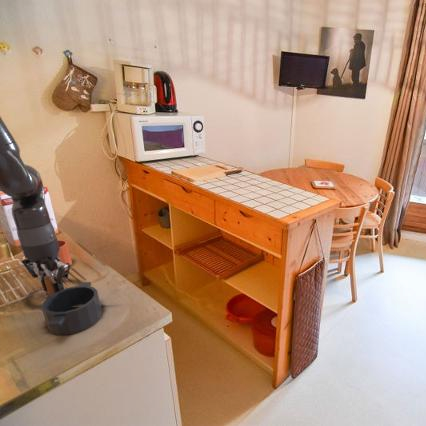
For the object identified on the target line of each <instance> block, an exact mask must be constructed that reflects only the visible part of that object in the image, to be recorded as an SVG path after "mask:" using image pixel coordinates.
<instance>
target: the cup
mask: <svg viewBox="0 0 426 426" xmlns="http://www.w3.org/2000/svg"><path fill="white" fill-rule="evenodd" d="M57 241H58V244H59V248H60V250H59V252H58V257H59V258H60V260H61V262H62V263H64V264H66V263H69V264H70V266H71V265H72V264H73V260H72V256H71V253H70V248H69V245H68V241H66V240H63V239H57Z"/></svg>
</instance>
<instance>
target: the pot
mask: <svg viewBox="0 0 426 426" xmlns="http://www.w3.org/2000/svg"><path fill="white" fill-rule="evenodd" d="M102 310H103V309H102V305H101V301H100V296H99V292H98V290H97V289H96V287H94V286H92V282H91V281H85V282H84V281H83V282H80V284H79V285H76V286H75V285H74V286H70V287H66V288H64V290H61V291H59V292H56V293H55V294H53V295H51V296H48V297H47V298H46V299H45V300H44V301H43V302H42V305H41V311H42V313H43V316H44V319H45V322H46V326H47V329H48V330H49V332H50V333H51V334H53V335H54V336H62V337H63V336H71V335H76V334H78V333H81V332H84V331H86V330H89V329H90V328H92V327H93V326H94V325H96V324H97V323H98V322H100V320H101V318H102V316H103V311H102Z"/></svg>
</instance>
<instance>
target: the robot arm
mask: <svg viewBox="0 0 426 426" xmlns="http://www.w3.org/2000/svg"><path fill="white" fill-rule="evenodd" d="M43 185H44V183H43V179H42V176H41V174H40V172H39V171H38V170H37V169H36V168H35V167H33V166H31V165H29V164H25V163H24V161H23V159H22V156H21V149H20V145H19V144H18V143H17V141H16V139H15V137H14V136H13V134H12V133H11V131H10V129H9V128H8V126H7V125H6V123H5V122H4V120H3V118H2V116H0V191H2V192H3V193H5V194H6V195H8V196H10V197H12V201H13V205H12V209H11V211H12V216H13V219H14V222H15V225H16V228H17V235H18V238H19V241H20V244H21V245H20V247H21V250H22V253H23V256H24V259H22V260H21V263H22V265H23V266H24V267H25V269H26V270H27V272H28V273H29V274H30V276H31V277H32V279H37V280H38V281H39V282H40V283H41V286H42V289H43V291H44V292H48V291H47V288H46V285H45V282H44V277H45V276H47V277H50V279H51V281H52V285H53V288H54V292H55V293H56V292H59V291H61V290H64V289H65V286H64V283H63V281H65V280H66V279H68V278H69V273H70V269H71V265H70V264H69V263H66V264H64V263H62V262H61V260H60V258H59V257H58V252H59V250H60V248H59V244H58V241H57V240H58V237H57V234H56V233H55V230H54V227H53V225H52V223H51V220H50V217H49V213H48V210H47V207H46V204H45V197H44V188H43ZM55 275H57V277H56V278H55Z"/></svg>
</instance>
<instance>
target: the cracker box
mask: <svg viewBox="0 0 426 426" xmlns="http://www.w3.org/2000/svg"><path fill="white" fill-rule="evenodd" d="M43 188H44V197H45V204H46V207H47V210H48V213H49V217H50V220H51V223H52V225H53V227H54V230H55V233H56V235H57V234H59V233H60V232H59V229H58V224H57V220H56V217H55V213H54V209H53V208H54V207H53V204H52V201H51V197H50V193H49V189H48V186H46V185H45V184H43ZM12 205H13V201H12V197H10V196H8V195H6V194H5V193H3V192H2V191H1V190H0V222H1V227H2V229H3V231H4V234H5V237H6V241H7V243H8V244H10V245H11V246H13V247H15V248H16V247H17V248H18V247H21V244H20V241H19V238H18V235H17V228H16V225H15V222H14V219H13V216H12V211H11V209H12Z"/></svg>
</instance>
